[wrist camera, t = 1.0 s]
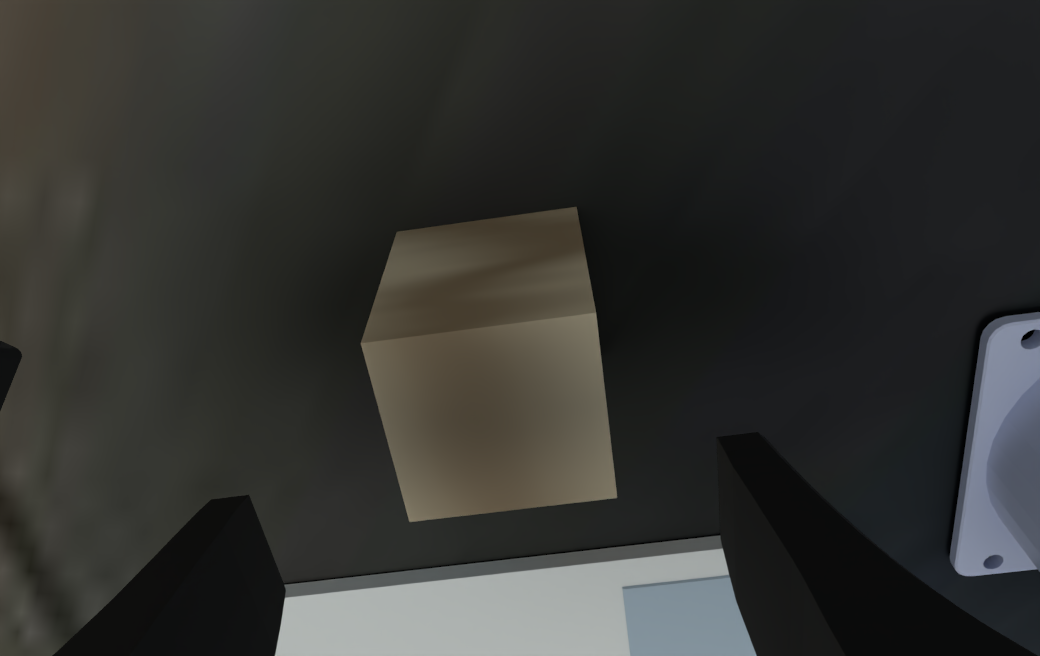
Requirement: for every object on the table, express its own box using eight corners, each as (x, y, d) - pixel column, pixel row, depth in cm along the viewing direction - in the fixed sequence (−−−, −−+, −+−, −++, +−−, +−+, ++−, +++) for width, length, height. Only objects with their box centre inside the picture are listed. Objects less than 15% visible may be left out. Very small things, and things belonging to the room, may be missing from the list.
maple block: (576, 206, 18) (595, 312, 14) (594, 361, 20) (616, 497, 16) (396, 230, 18) (360, 343, 14) (432, 381, 20) (409, 522, 16)
